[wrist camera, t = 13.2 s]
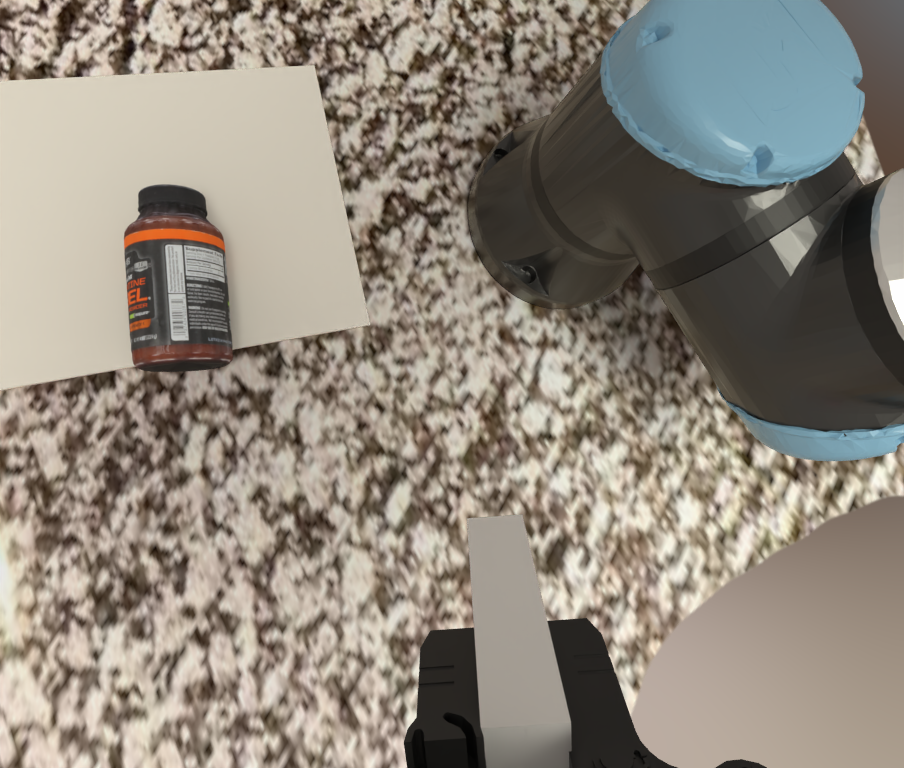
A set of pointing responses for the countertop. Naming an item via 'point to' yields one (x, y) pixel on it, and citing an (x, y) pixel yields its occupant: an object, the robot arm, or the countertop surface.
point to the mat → (177, 163)
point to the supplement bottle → (176, 283)
